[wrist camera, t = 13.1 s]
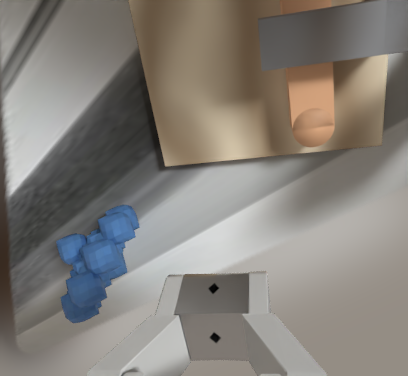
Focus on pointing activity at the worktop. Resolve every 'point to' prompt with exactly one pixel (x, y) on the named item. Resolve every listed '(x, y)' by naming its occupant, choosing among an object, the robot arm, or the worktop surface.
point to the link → (310, 90)
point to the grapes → (95, 262)
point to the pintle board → (261, 72)
